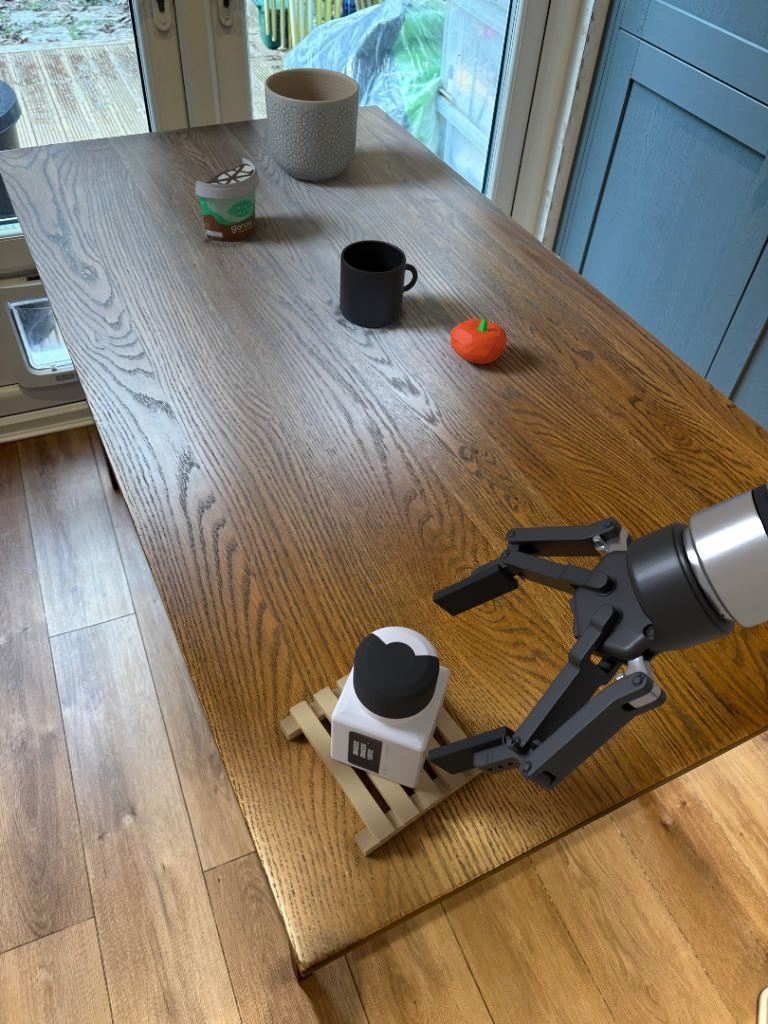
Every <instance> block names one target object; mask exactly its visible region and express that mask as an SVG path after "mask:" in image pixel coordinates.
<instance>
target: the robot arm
mask: <svg viewBox="0 0 768 1024" xmlns="http://www.w3.org/2000/svg"><path fill="white" fill-rule="evenodd" d="M505 540H506V541H507V547H506V549H504V550H503V551H502V552H501V553H500V555H499V557H497V558H495V559H493V560H491V561H488V562H487V563H485V564H483V565H480V566H478V567H476V568H474V569H473V570H471V572H470V576H468V577H466V578H464V579H462V580H459V581H457V582H454V583H452V584H450V585H449V586H446V587H444V588H442V589H440V590H437V591H436V592H433V593H432V602H433V603H435V604H436V605H437V606H438V607H440V608H441V609H442V610H443V611H445V612H446V613H448V614H449V615H450V616H452V617H453V618H454V617H455V616H458V615H461V614H463V613H465V612H467V611H470V610H472V609H474V608H476V607H478V606H479V607H480V606H481V605H483V604H486V603H488V602H490V601H493V600H494V599H497V598H499V597H501V596H504V595H506V594H508V593H511V592H513V591H515V590H517V589H519V580H518V579H517V578H516V576H517V577H519V578H520V579H521V580H522V581H523V582H525V583H526V580H527V581H530V582H532V583H536V584H539V585H541V586H545V587H548V588H550V589H554V590H557V591H560V592H562V593H566V594H568V595H572V597H571V598H569V599H568V603H569V609H570V611H571V614H572V615H573V622H572V623H573V624H572V635H573V638H574V639H576V642H575V643H574V644H573V646H571V648H570V649H569V651H568V654H567V659H568V660H567V662H566V664H565V665H564V666H563V667H562V669H561V670H560V672H559V673H558V675H557V676H556V677H555V678H554V680H553V681H552V682H551V684H550V685H549V686H548V688H547V689H546V690H545V692H544V693H543V695H541V697H540V699H539V700H538V701H537V703H536V704H535V705H534V707H532V709H531V711H529V713H528V715H526V717H525V719H524V720H523V721H522V722H521V724H520V725H519V726H518V727H517V729H516V730H513V729H512V728H510V727H509V726H507V725H503V726H500V727H497V728H493V729H490V730H488V731H485V732H481V733H478V734H475V735H472V736H469V737H468V738H466V739H462V740H459V741H456V742H453V743H450V744H447V743H446V744H444V745H440V746H441V747H438V748H435V749H432V750H429V751H428V761H429V762H431V763H433V764H434V765H436V766H438V767H440V768H441V769H443V770H445V771H446V772H448V773H450V774H452V775H454V774H457V773H461V772H464V771H467V770H471V769H474V768H478V769H479V770H481V771H483V772H482V773H484V774H487V775H491V776H493V775H497V774H499V773H503V772H506V771H510V770H514V769H517V768H518V771H519V774H520V775H521V777H523V778H525V779H526V780H528V781H529V782H531V783H532V784H535V785H536V786H538V787H539V788H541V789H543V790H544V791H547V792H548V791H551V790H553V789H554V788H555V787H557V786H558V785H559V784H560V783H561V782H563V781H564V780H565V779H566V778H567V777H568V776H570V774H571V773H573V772H574V771H575V770H576V769H577V768H579V767H580V766H581V765H582V764H583V763H584V762H585V761H586V760H588V759H589V758H590V757H592V755H594V754H595V752H598V750H599V749H600V748H601V747H602V746H603V745H605V744H606V743H607V742H608V741H610V739H612V738H613V737H614V736H615V735H617V733H618V732H619V731H621V730H622V729H623V728H625V726H627V725H628V724H629V723H630V722H631V721H632V720H633V719H634V718H636V717H639V716H640V715H642V714H645V713H647V712H650V711H652V710H655V709H657V708H660V707H661V706H663V705H664V704H665V703H666V701H667V698H668V696H667V692H666V691H665V689H663V688H662V687H661V686H660V685H659V684H658V683H657V681H656V679H655V676H654V672H653V670H652V667H651V664H650V663H651V662H652V661H653V660H654V659H655V658H656V657H658V656H659V655H661V654H663V653H666V652H672V651H685V650H688V649H690V648H694V647H697V646H699V645H702V644H703V645H704V644H705V643H709V642H712V641H714V640H717V639H721V638H723V637H726V636H729V635H730V634H732V632H733V630H734V629H735V626H736V624H738V625H739V626H741V627H744V628H751V627H754V626H757V625H761V624H763V623H766V622H768V482H766V483H763V484H761V485H757V486H755V487H754V488H751V489H749V490H746V491H744V492H742V493H740V494H737V495H734V496H731V497H730V498H727V499H725V500H722V501H720V502H717V503H716V504H715V503H714V504H713V505H710V506H708V507H706V508H704V509H701V510H699V511H696V512H694V513H692V514H691V515H690V517H689V520H688V524H685V523H683V522H682V523H681V522H678V521H675V522H672V523H670V524H667V525H665V526H663V527H660V528H658V529H656V530H654V531H651V532H649V533H646V534H645V535H642V536H640V537H637V538H635V539H634V537H633V535H631V533H630V532H628V530H627V529H626V528H625V527H624V526H623V525H622V524H621V523H620V522H619V520H617V518H615V517H613V516H609V517H605V518H604V519H601V520H598V521H595V522H592V523H589V524H588V525H587V524H584V525H561V526H560V525H559V526H537V527H535V526H534V527H515V528H511V529H509V530H508V531H507V532H506V534H505ZM558 557H559V558H561V557H563V558H567V557H570V558H573V557H577V558H581V557H585V558H586V557H587V558H588V557H590V558H592V557H594V558H595V557H602V558H601V559H600V561H598V563H597V564H596V565H595V566H594V568H593V569H589V568H585V567H582V566H578V565H576V564H575V565H574V564H571V563H567V564H563V563H560V562H556V561H552V560H549V559H545V558H558ZM592 656H595V657H598V658H601V659H600V660H599V662H598V663H597V664H596V663H594V662H593V661H592ZM622 666H625V667H626V669H625V670H624V671H623V672H622V671H619V670H620V669H621V668H622ZM613 678H615V681H613V682H611V681H612V679H613ZM610 682H611V683H610ZM602 686H605V687H604V688H602V689H601V690H600V691H598V690H599V688H600V687H602ZM597 691H598V692H597ZM596 692H597V694H596ZM594 695H595V696H594Z"/></svg>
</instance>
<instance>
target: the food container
mask: <svg viewBox="0 0 768 1024" xmlns="http://www.w3.org/2000/svg"><path fill="white" fill-rule="evenodd" d="M259 185H260V178H259V175H258V171H257V169H256V167H255V165H254V163H253V162H251V161H250V160H249V159H247V158H245V157H242V164H239V165H238V166H236V167H234V168H232V169H227V170H223V171H220V172H219V173H218V174H216V175H215V176H214V177H213V178H211V179H209V180H208V181H206V182H203V181H199V180H195V188H194V189H195V190H194V191H195V193H194V194H195V195H196V196H198V198H199V199H198V200H199V203H200V208H201V213H202V214H201V215H202V218H203V223H204V228H205V233H206V237H207V239H209V240H212V241H216V242H226V243H227V242H228V243H229V242H237V241H242V240H246V239H247V238H249V237H250V236H252V235H253V234H254V232H255V229H256V189H258V187H259Z"/></svg>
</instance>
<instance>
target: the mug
mask: <svg viewBox="0 0 768 1024" xmlns="http://www.w3.org/2000/svg"><path fill="white" fill-rule="evenodd" d="M339 266H340V269H339V270H340V271H339V273H340V274H339V311H340V313H341V315H342V316H343V318H344V319H345V320H346V321H348V322H349V323H351V324H353V325H357V326H359V327H364V328H381V327H386V326H389V325H391V324H394V323H395V322H397V320H399V318H400V317H401V315H402V312H403V300H404V294H405V293H406V292H408V291H411V289H413V288H414V286H415V285H416V284H417V282H418V278H419V274H418V270H417V268H416V267H415V265H413V264H411V263H407V257H406V254H405V252H404V251H403V250H402V249H401V248H400V247H399V246H397V245H395V244H393V243H390V242H387V241H382V240H374V239H365V240H357V241H355V242H352V243H349V244H348V245H346V246H345V247H344V248H343V249H342V250H341V253H340V265H339ZM406 271H409V272H411V275H412V277H411V280H410V281H409V282H408V283H407V284H406V285H405V277H406Z"/></svg>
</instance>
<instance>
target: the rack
mask: <svg viewBox="0 0 768 1024" xmlns="http://www.w3.org/2000/svg"><path fill="white" fill-rule="evenodd" d="M350 673H351V672H349V673H348V674H346V675H344V676H343V677H341V678H339V679H337V680H336V687H335V688H334V689H331V688H330V686H326V687H324V688H322V689H320V690H319V691H317V692H315V693H313V701H312V702H310V703H308V702H307V701H306V700H305V699H304V700H302V701H300V702H298V703H297V704H295V705H294V706H291V707H290V708H289V713H290V714H289V715H288V716H287V717H285V718H283V719H282V720H280V721H279V727H280V730H281V731H282V733H283V734H284V736H285V737H286V739H287V741H291V740H293V739H294V738H297V737H298V736H299V735H301V734H304V736H305V737H306V739H307V740H308V742H309V743H310V745H311V746H312V748H313V750H314V751H315V752H316V754H317V755H318V757H319V758H320V760H321V761H322V762H323V764H324V765H325V767H326V768H327V770H328V772H329V773H330V774H331V775H332V778H333V779H334V780H335V782H336V783H337V785H338V786H339V788H340V789H341V790H342V792H343V794H344V795H345V796H346V798H347V799H348V802H350V804H351V805H352V807H353V808H354V810H355V812H356V813H357V814H358V815H359V817H360V819H361V820H362V822H363V823H364V825H365V826H366V827H364V828H363V829H362V830H360V831H359V832H357V833H356V834H354V842H355V844H356V845H357V847H358V848H359V850H360V852H361V853H362V854H363V856H364V857H367V856H369V855H370V854H371V853H373V852H374V851H375V850H376V849H378V848H379V847H381V846H382V845H384V844H385V843H387V842H388V841H390V839H392V838H394V836H396V835H397V834H399V833H400V832H401V831H403V830H404V829H406V828H407V827H409V826H410V825H411V824H413V823H414V822H415V821H416V820H418V819H420V818H421V817H423V816H424V815H425V814H426V813H428V812H429V811H430V810H432V809H433V808H435V807H436V806H437V805H439V804H441V802H443V801H444V800H446V799H447V798H449V796H452V795H453V794H454V793H456V792H457V791H458V790H460V789H461V788H462V787H463V786H465V785H466V784H468V783H469V782H470V781H471V780H473V779H475V778H476V777H477V776H479V775H480V774H482V773H484V772H483V771H481V770H479V769H478V768H474V769H471V770H467V771H464V772H461V773H457V774H454V775H452V774H450V773H448V772H446V771H445V770H443V769H441V768H440V767H438V766H436V765H434V764H433V763H431V762H429V761H428V753H427V756H426V759H425V761H426V762H427V763H428V764H429V766H430V767H431V769H432V770H433V771H434V772H435V774H436V775H437V776H436V777H435V778H434V779H432V778H431V776H430V775H429V774H428V773H427V771H426V770H425V769H424V767H423V768H422V771H421V774H420V777H419V780H418V783H417V786H416V787H414V788H412V790H413V791H414V793H412V794H411V795H410V796H409V795H408V794H407V792H406V791H405V789H404V788H403V786H401V784H399V783H397V782H394V781H391V780H388V779H386V778H383V777H380V776H378V775H375V774H372V773H370V772H367V771H364V773H365V774H366V775H367V777H368V778H369V780H370V781H371V782H372V784H373V785H374V787H375V789H377V791H378V792H379V794H380V796H381V797H382V798H383V800H384V801H385V802H386V804H387V806H388V807H389V808H390V809H389V811H387V812H384V811H383V810H382V809H381V807H380V806H379V804H378V803H377V801H376V800H375V798H374V797H373V795H372V794H371V793H370V791H369V790H368V788H367V787H366V785H365V784H364V782H363V781H362V780H361V778H360V777H359V775H358V774H357V772H356V771H355V770H354V768H353V766H351V765H348V764H345V763H343V762H340V761H337V760H334V759H333V758H332V757H331V734H329V732H328V731H327V729H326V728H325V727H324V725H323V724H322V723H321V722H323V721H324V720H325V719H327V720H328V722H329V723H330V725H331V724H332V714H333V711H334V709H335V707H336V705H337V702H338V700H339V698H340V695H341V693H342V691H343V689H344V686H345V684H346V682H347V679H348V677H349V675H350ZM435 731H436V732H437V733H438V734H439V735H440V736H441V738H442V739H443V740H444V741H445V743H446V745H447V744H450V743H453V742H456V741H459V740H462V739H466V738H469V737H468V736H467V735H466V733H465V732H464V731H463V730H462V729H461V728H460V726H459V725H458V723H457V722H456V721H455V720H454V719H453V717H452V716H451V715H450V714H449V713H448V711H446V709H445V708H444V707H443V706H442V709H441V713H440V716H439V719H438V722H437V726H436V729H435ZM441 746H442V745H441V744H440V743H439V742H438V741H437V739H435V737H434V736H433V738H432V741H431V744H430V747H429V750H432V749H435V748H438V747H441ZM429 750H428V751H429Z"/></svg>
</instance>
